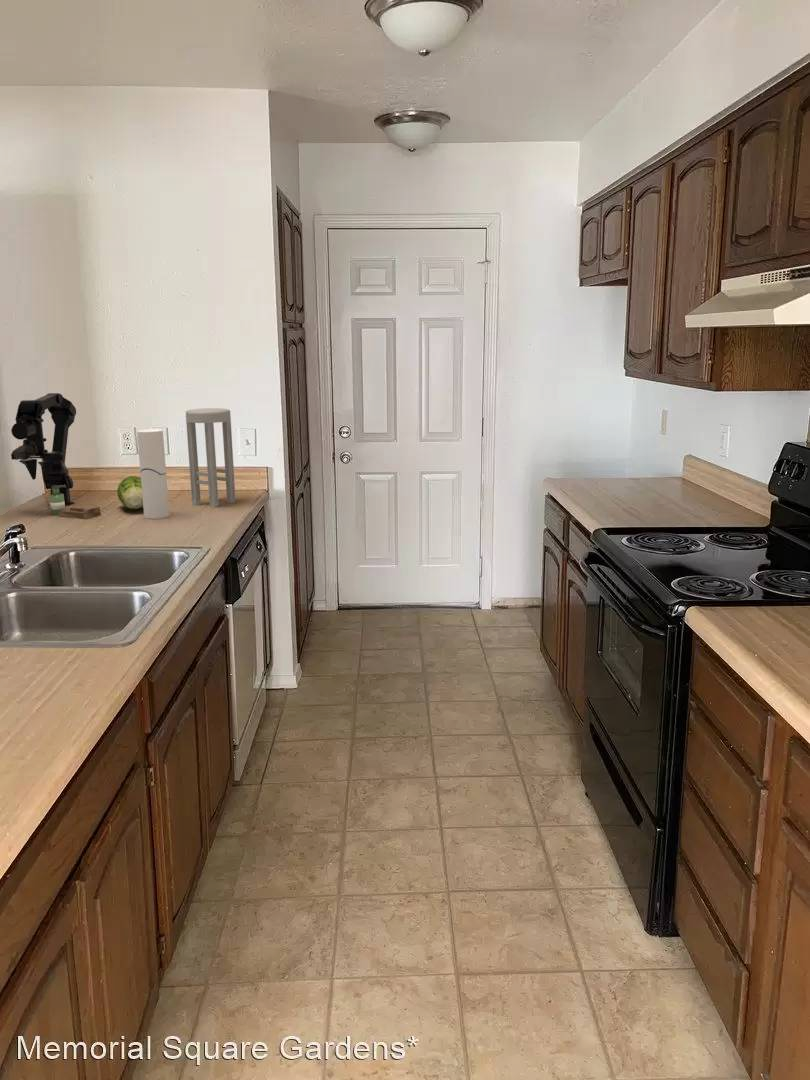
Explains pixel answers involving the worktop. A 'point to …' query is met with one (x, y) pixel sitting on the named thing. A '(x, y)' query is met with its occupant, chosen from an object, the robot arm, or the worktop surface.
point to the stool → (210, 454)
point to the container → (153, 473)
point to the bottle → (56, 501)
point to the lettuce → (131, 492)
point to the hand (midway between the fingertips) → (39, 479)
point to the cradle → (80, 513)
